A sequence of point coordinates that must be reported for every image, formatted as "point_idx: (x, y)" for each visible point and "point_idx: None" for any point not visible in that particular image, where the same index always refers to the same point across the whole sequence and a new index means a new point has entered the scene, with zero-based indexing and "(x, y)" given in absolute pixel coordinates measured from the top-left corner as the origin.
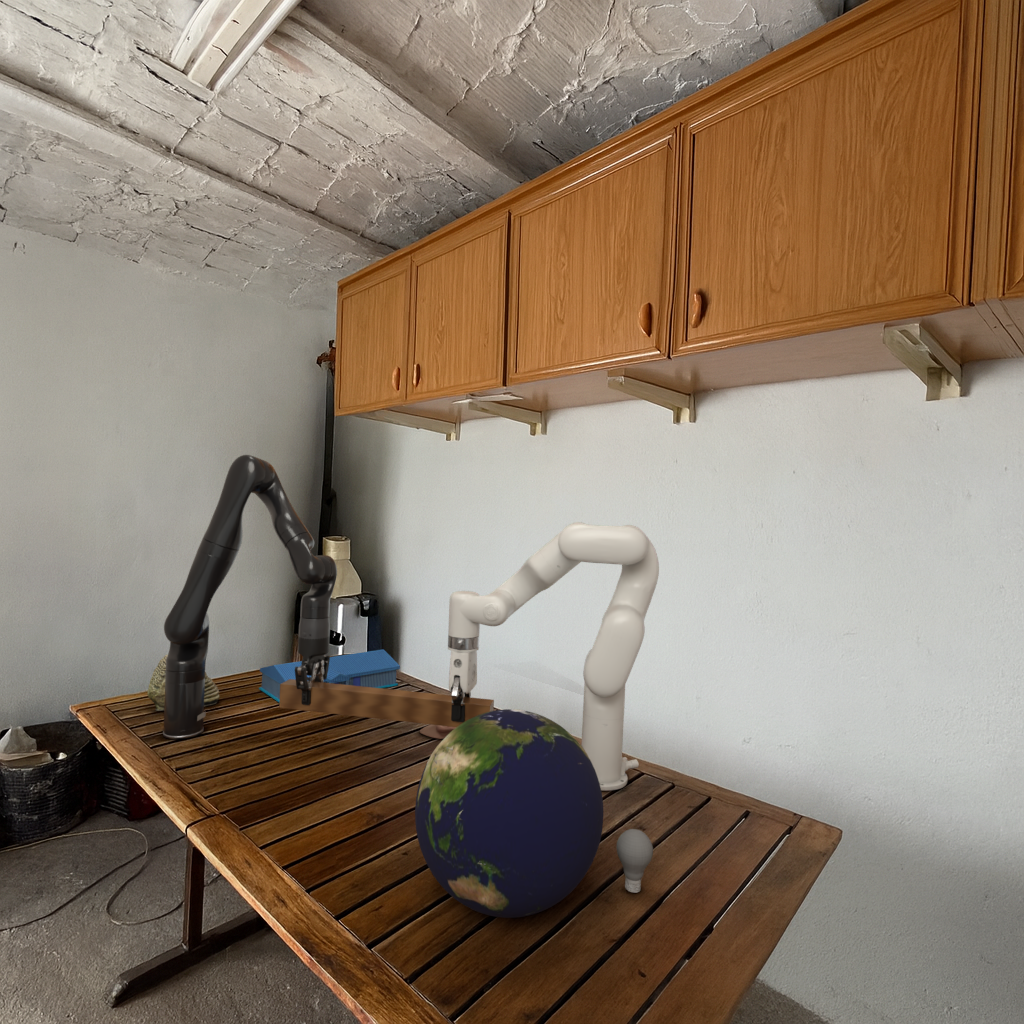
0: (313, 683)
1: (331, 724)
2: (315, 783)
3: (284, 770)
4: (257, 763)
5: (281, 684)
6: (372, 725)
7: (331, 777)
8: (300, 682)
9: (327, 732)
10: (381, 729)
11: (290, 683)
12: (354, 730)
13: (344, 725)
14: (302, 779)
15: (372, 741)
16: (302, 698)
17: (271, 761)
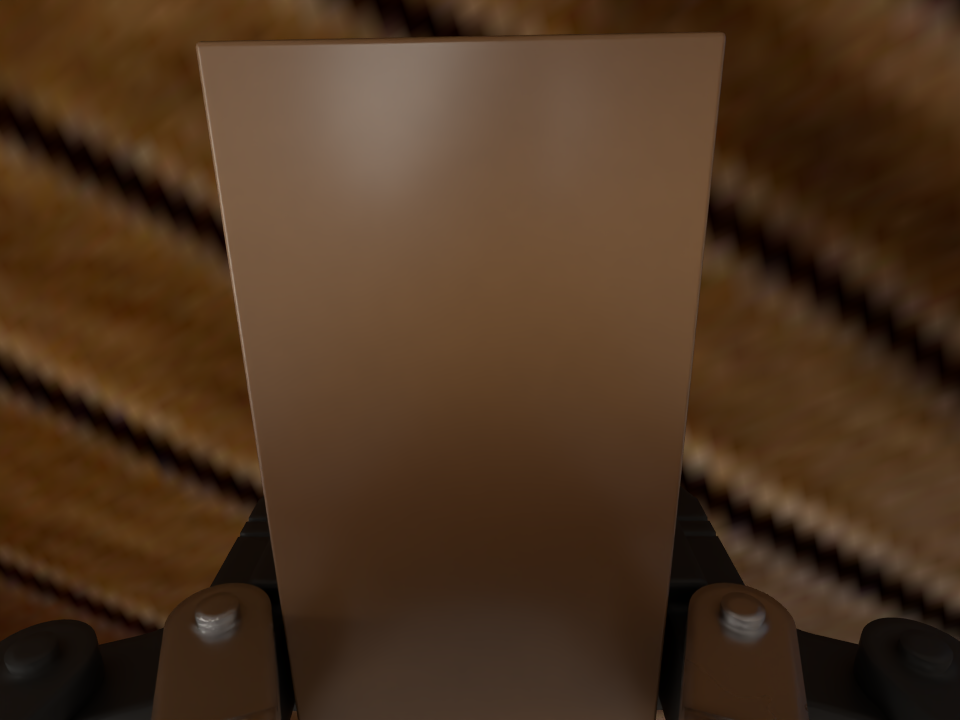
0: (531, 690)
1: (928, 272)
2: (17, 596)
3: (61, 371)
4: (55, 137)
5: (206, 86)
6: (932, 544)
7: (117, 633)
8: (506, 452)
9: (749, 322)
10: (861, 616)
11: (347, 283)
12: (819, 477)
13: (914, 374)
14: (19, 519)
15: None
16: (250, 533)
17: (131, 215)
